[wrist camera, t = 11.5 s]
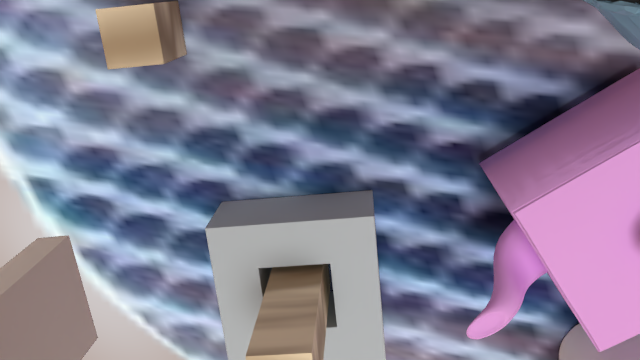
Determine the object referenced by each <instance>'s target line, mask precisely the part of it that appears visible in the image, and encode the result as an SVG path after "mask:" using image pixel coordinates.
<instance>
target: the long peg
mask: <svg viewBox="0 0 640 360" xmlns="http://www.w3.org/2000/svg"><path fill="white" fill-rule="evenodd" d="M329 294H330V275H329V266H328V264H316V265H301V266H286V267H272V270H271V274H270V277H269V280H268V283H267V287H266V290H265V293H264V297H263V300H262V303H261V307H260V310H259V313H258V317H257V320H256V323H255V326H254V330H253V333H252V336H251V340H250V343H249V346H248V350H247V353H246V356H245V357H246V360H323V358H324V348H325V337H326V326H327V316H328V305H329Z"/></svg>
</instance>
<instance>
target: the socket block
mask: <svg viewBox="0 0 640 360" xmlns="http://www.w3.org/2000/svg"><path fill="white" fill-rule="evenodd" d="M205 230H206V236H207V242H208V247H209V253H210V259H211V264H212V270H213V276H214V281H215V287H216V293H217V298H218V304H219V310H220V315H221V321H222V327H223V333H224V338H225V344H226V350H227V355H228V360H246V357H245V356H246V353H247V350H248V346H249V343H250V340H251V336H252V333H253V330H254V326H255V323H256V320H257V317H258V313H259V310H260V307H261V303H262V300H263V297H264V293H265V290H266V287H267V283H268V280H269V277H270V274H271V270H272V267H286V266H301V265H316V264H330V266H331V275H332V284H333V292H330V294H329V305H328V316H327V326H326V337H325V348H324V358H323V360H386V357H385V343H384V329H383V316H382V304H381V291H380V279H379V267H378V254H377V242H376V229H375V217H374V205H373V192H372V190H369V191H356V192H343V193H330V194H317V195H304V196H291V197H278V198H265V199H252V200H239V201H226V202H221V204H220V206H219V207H218V209H217V211H216V212H215V214H214V215H213V217H212V219H211V220H210V222H209V223H208V225H207V227H206V228H205Z"/></svg>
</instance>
